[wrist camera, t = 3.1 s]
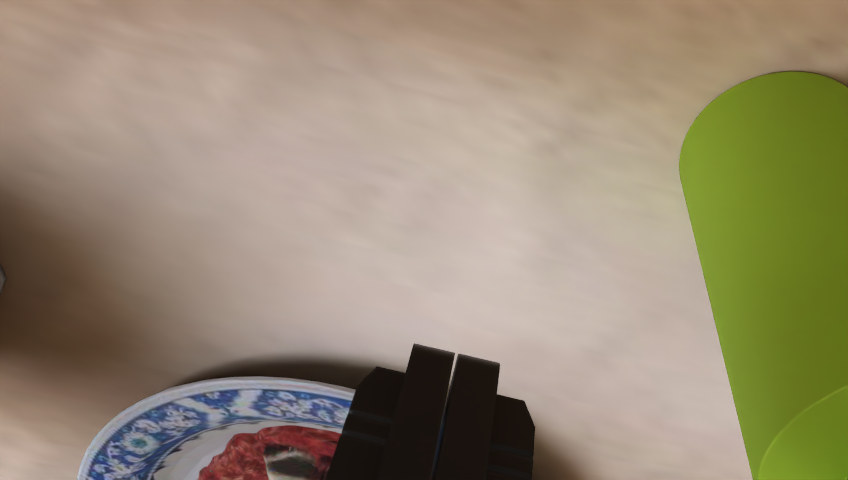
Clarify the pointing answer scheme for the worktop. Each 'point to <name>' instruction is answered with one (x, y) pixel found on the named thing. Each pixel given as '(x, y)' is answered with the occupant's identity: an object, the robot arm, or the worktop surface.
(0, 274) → the can
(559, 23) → the worktop surface
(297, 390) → the ceramic plate
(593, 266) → the worktop surface
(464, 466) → the robot arm
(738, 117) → the soap dispenser
